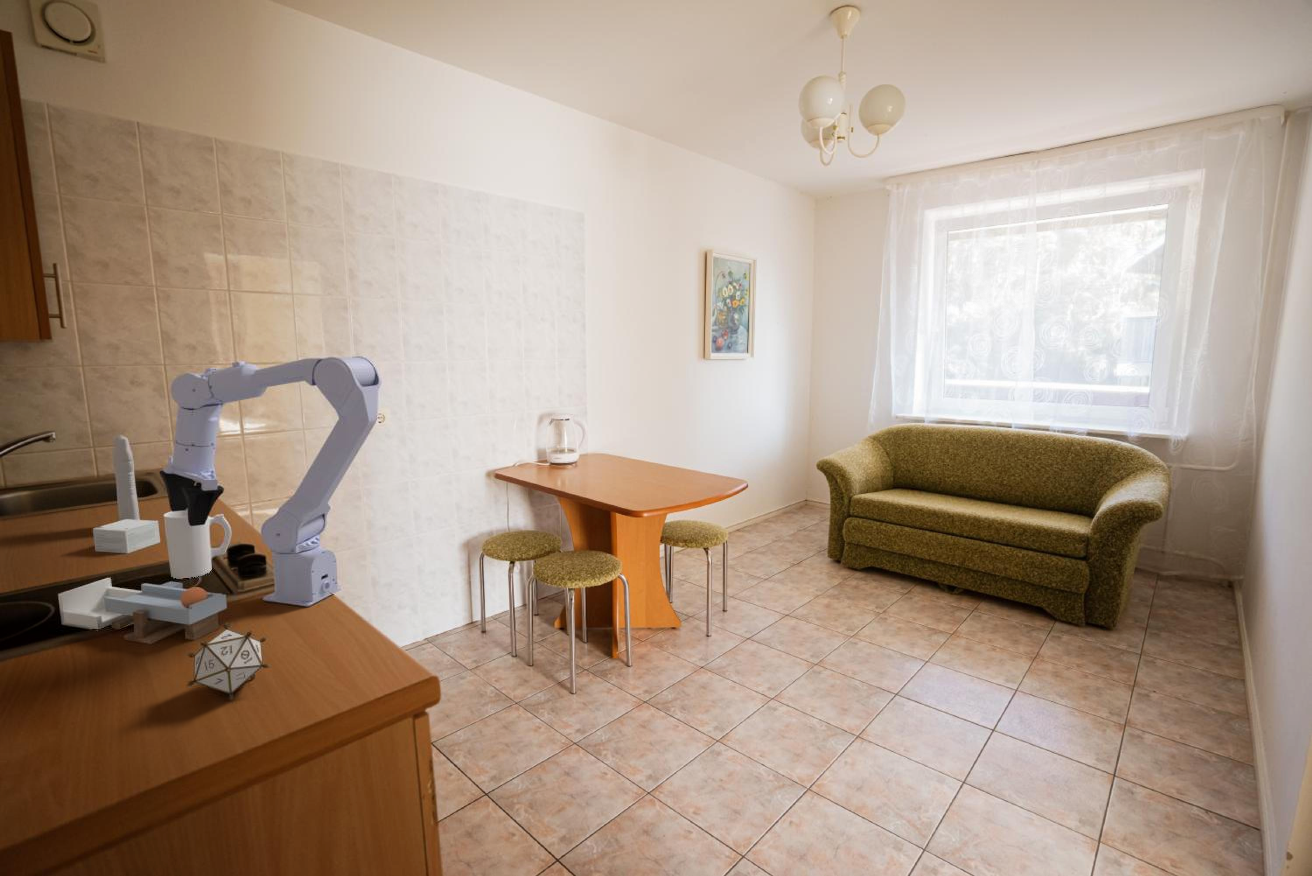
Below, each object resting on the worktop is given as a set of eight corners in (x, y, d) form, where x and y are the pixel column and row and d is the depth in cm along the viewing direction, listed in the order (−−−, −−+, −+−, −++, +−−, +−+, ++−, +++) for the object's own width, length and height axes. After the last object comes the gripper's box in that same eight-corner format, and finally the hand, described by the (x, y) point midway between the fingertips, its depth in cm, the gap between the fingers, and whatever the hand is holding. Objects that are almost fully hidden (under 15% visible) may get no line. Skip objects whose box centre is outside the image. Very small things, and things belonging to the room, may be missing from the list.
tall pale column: (148, 530, 141) (138, 436, 138) (125, 534, 138) (115, 438, 135) (135, 521, 147) (125, 432, 144) (112, 525, 144) (102, 433, 141)
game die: (225, 711, 80) (221, 635, 83) (287, 688, 80) (280, 613, 84) (168, 715, 71) (165, 631, 75) (237, 689, 72) (231, 607, 75)
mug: (168, 582, 111) (162, 519, 110) (169, 571, 117) (163, 511, 115) (235, 571, 118) (230, 511, 116) (233, 561, 123) (228, 504, 121)
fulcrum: (233, 621, 97) (231, 595, 96) (176, 648, 88) (174, 619, 87) (159, 610, 100) (156, 584, 100) (96, 635, 91) (93, 607, 91)
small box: (161, 542, 134) (159, 520, 133) (127, 554, 126) (124, 530, 125) (130, 540, 134) (127, 518, 134) (93, 552, 127) (90, 528, 126)
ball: (213, 605, 93) (211, 585, 93) (193, 613, 90) (191, 593, 90) (196, 602, 94) (194, 582, 94) (176, 611, 91) (174, 590, 91)
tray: (146, 611, 99) (142, 582, 99) (98, 630, 93) (94, 599, 92) (111, 606, 101) (107, 577, 100) (61, 624, 94) (58, 594, 94)
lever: (249, 598, 99) (248, 582, 98) (189, 624, 89) (188, 607, 89) (171, 587, 102) (169, 572, 102) (105, 611, 92) (103, 595, 92)
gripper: (150, 431, 104) (142, 506, 106) (185, 454, 97) (177, 535, 99) (198, 431, 110) (190, 502, 112) (235, 453, 103) (226, 529, 105)
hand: (187, 517), depth 106 cm, fingers open, 7 cm apart
